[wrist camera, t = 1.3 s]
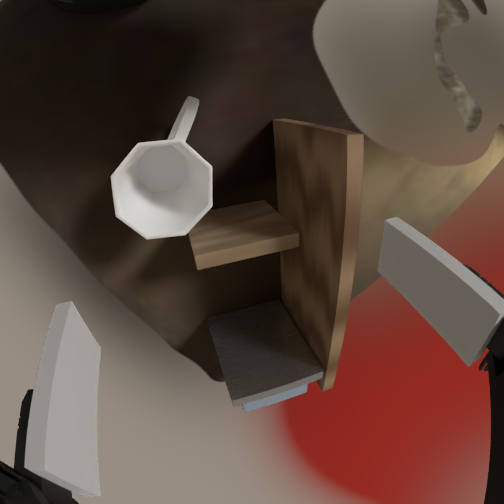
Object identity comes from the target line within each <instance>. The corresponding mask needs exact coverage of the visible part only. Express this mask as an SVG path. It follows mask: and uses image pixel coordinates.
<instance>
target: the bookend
mask: <svg viewBox="0 0 504 504" xmlns="http://www.w3.org/2000/svg"><path fill="white" fill-rule="evenodd" d="M207 320H208V324H209V328H210V332H211V335H212V338H213V342H214V345H215V349H216V352H217V356H218V359H219V362H220V366H221V369H222V372H223V375H224V379H225V382H226V385H227V388H228V391H229V394H230V397H231V400H232V403H233V406H234V407H235V406H239V405H242V404H246V403H249V402H253V401H256V400H260V399H263V398H266V397H270V396H273V395H276V394H279V393H282V392H285V391H288V390H291V389H294V388H297V387H300V386H302V385H305V384H308V383H311V382H313V381H316V380H319V379H321V378H322V375H323V370H322V369H321V367H320V365H319V364H318V362H317V360H316V359H315V357H314V356H313V354H312V352H311V351H310V349H309V348H308V346H307V344H306V343H305V341H304V339H303V338H302V336H301V335H300V333H299V331H298V330H297V328H296V326H295V325H294V323H293V322H292V320H291V318H290V317H289V315H288V313H287V312H286V310H285V309H284V307H283V305H282V304H281V302H280V300H279V299H277V300H273V301H269V302H266V303H262V304H258V305H254V306H251V307H247V308H243V309H239V310H235V311H231V312H227V313H223V314H219V315H215V316H211V317H207Z"/></svg>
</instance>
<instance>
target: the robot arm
mask: <svg viewBox="0 0 504 504" xmlns="http://www.w3.org/2000/svg"><path fill="white" fill-rule="evenodd" d="M50 1H51V2H52V3H53V4H54V5H56V6H58V7H60V8H62V9H64V10H68V11H72V12H78V13H98V12H105V11H111V10H115V9H119V8H123V7H126V6H129V5H132V4H135V3H138V2H140V1H142V0H50ZM377 271H378V272H379V273H380V274H381V275H382V276H383V277H384V278H385V279H386V280H387V281H388V282H389V283H390V284H391V285H392V286H393V287H394V288H396V290H397V291H398V292H399V293H400V294H401V295H402V296H404V298H405V299H406V300H407V301H408V302H409V303H410V304H411V305H412V306H413V307H414V308H415V309H416V310H417V311H418V312H419V313H420V314H421V315H422V316H423V317H424V318H425V319H426V320H427V321H428V322H429V323H430V325H431V326H432V327H433V328H434V329H435V330H436V331H437V332H438V333H439V334H440V335H441V336H442V338H443V339H444V340H445V341H446V342H447V343H448V344H449V345H450V346H451V347H452V349H453V350H454V351H455V352H456V353H457V354H458V355H459V356H460V358H461V359H462V360H463V361H464V362H465V363H466V365H467V366H468V367H469V366H470V365H471V364H473V363H474V362H475V361H476V360H478V359H479V358H480V357H481V355H482V353H483V352H484V350H485V349H486V347H487V348H488V349H489V352H488V353H487V355H486V356H485V358H484V359H483V361H482V362H481V364H480V366H479V370H482V368H483V367H484V366H485V364H486V363H488V364H487V365H486V367H485V369H484V371H488V372H489V383H490V399H491V447H490V462H489V472H488V481H487V488H486V494H485V500H484V504H504V295H503V294H502V293H501V292H499V291H498V290H497V289H496V288H495V287H494V286H493V285H492V284H490V283H488V282H487V280H486V279H484V278H483V277H481V276H480V274H478V273H477V272H476V271H475V270H473V269H472V268H471V267H468V266H466V265H464V264H462V263H460V262H459V261H458V260H456V259H455V258H454V257H452V256H451V255H449V254H448V253H447V252H446V251H445V250H443V249H442V248H441V247H439V246H438V245H436V244H435V243H434V242H432V241H431V240H430V239H428V238H427V237H425V236H424V235H423V234H421V233H420V232H418V231H417V230H416V229H414V228H413V227H411V226H410V225H408V224H407V223H405V222H404V221H402V220H401V219H400V218H398V217H394V218H391V219H387V220H385V221H384V229H383V237H382V244H381V251H380V258H379V264H378V270H377ZM100 356H101V348H100V346H99V344H98V343H97V341H96V340H95V338H94V337H93V335H92V334H91V332H90V331H89V329H88V327H87V326H86V324H85V323H84V321H83V319H82V318H81V316H80V314H79V313H78V311H77V309H76V307H75V306H74V304H73V303H72V301H69V302H65V303H62V304H57V305H56V307H55V310H54V313H53V317H52V319H51V323H50V326H49V329H48V333H47V336H46V340H45V343H44V347H43V351H42V355H41V359H40V363H39V367H38V372H37V376H36V380H35V385H34V389H31V390H28V391H27V393H26V395H25V397H24V399H23V401H22V405H21V411H20V418H19V424H18V426H19V429H18V431H17V440H16V451H15V463H14V469H13V468H11V467H10V466H8V465H6V464H5V463H3V462H1V461H0V504H78V502H77V501H75V500H74V499H73V498H72V493H71V492H74V493H76V494H78V495H81V496H93V497H101V492H100V481H99V468H98V446H97V406H98V405H97V404H98V403H97V402H98V381H99V368H100V367H99V366H100Z"/></svg>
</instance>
